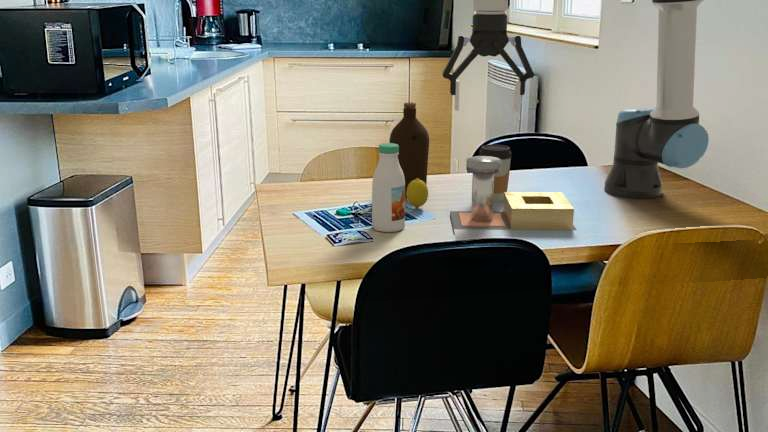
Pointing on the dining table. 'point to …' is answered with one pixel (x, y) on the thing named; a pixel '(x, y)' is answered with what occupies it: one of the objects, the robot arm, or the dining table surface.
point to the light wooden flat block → (538, 211)
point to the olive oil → (411, 145)
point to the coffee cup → (503, 176)
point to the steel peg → (482, 185)
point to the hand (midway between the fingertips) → (486, 109)
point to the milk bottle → (388, 191)
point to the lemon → (417, 193)
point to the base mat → (464, 222)
